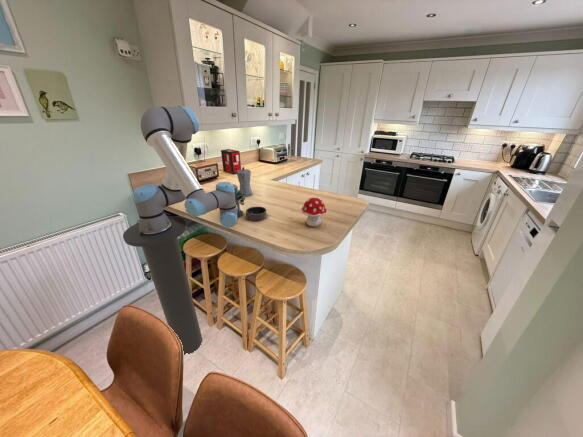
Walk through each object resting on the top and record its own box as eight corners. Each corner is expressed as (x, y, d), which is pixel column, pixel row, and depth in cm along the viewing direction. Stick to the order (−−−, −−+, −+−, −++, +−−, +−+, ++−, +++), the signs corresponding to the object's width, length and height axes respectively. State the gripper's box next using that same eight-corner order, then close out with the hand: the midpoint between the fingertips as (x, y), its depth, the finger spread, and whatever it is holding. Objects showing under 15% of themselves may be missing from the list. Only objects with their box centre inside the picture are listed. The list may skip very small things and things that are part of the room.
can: (232, 215, 131) (229, 189, 124) (223, 212, 135) (219, 186, 128) (242, 210, 136) (240, 185, 130) (234, 207, 141) (231, 183, 134)
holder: (256, 223, 127) (256, 216, 125) (242, 217, 133) (241, 211, 131) (271, 216, 135) (270, 209, 133) (256, 211, 141) (256, 204, 140)
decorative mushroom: (331, 223, 126) (333, 197, 120) (316, 233, 117) (317, 205, 110) (311, 216, 135) (312, 191, 128) (295, 224, 125) (295, 198, 119)
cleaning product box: (223, 171, 225) (220, 150, 216) (231, 169, 231) (228, 149, 222) (233, 174, 215) (231, 152, 206) (241, 172, 221) (239, 151, 212)
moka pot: (239, 198, 160) (236, 169, 151) (237, 191, 173) (235, 164, 164) (253, 197, 162) (251, 168, 153) (250, 190, 175) (248, 163, 167)
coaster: (232, 220, 130) (232, 218, 129) (220, 215, 136) (219, 213, 135) (247, 213, 138) (246, 212, 137) (234, 209, 144) (234, 207, 143)
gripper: (209, 216, 115) (214, 199, 136) (251, 213, 119) (250, 197, 139) (207, 202, 112) (212, 187, 132) (250, 199, 116) (249, 185, 136)
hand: (231, 192), depth 136 cm, fingers closed on can, 8 cm apart
